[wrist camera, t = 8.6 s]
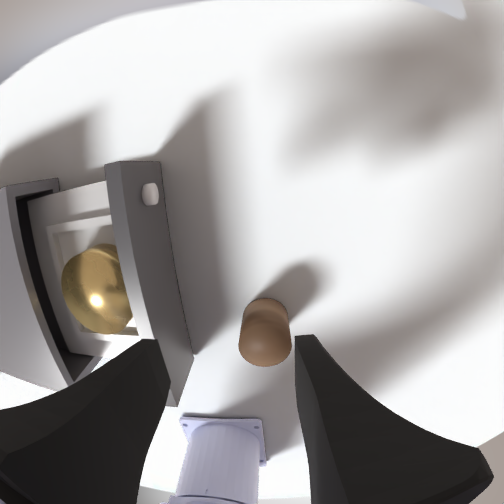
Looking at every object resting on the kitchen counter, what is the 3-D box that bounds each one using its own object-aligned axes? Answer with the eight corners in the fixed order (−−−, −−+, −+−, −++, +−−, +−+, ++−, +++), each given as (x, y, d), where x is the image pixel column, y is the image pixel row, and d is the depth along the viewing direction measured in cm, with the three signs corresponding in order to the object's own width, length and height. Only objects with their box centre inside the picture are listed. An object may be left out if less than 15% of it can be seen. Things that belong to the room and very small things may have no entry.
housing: (103, 356, 22) (73, 396, 16) (27, 343, 23) (-2, 370, 17) (57, 177, 17) (5, 186, 12) (-13, 203, 18) (-53, 215, 13)
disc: (152, 319, 18) (140, 338, 16) (90, 315, 19) (74, 330, 16) (138, 241, 17) (120, 252, 14) (73, 245, 17) (53, 255, 15)
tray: (200, 358, 21) (184, 407, 16) (79, 349, 22) (50, 383, 16) (167, 160, 17) (129, 158, 11) (36, 191, 17) (-10, 202, 12)
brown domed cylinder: (288, 335, 20) (291, 364, 17) (244, 337, 20) (241, 367, 17) (287, 296, 19) (291, 322, 16) (240, 299, 19) (235, 326, 16)
